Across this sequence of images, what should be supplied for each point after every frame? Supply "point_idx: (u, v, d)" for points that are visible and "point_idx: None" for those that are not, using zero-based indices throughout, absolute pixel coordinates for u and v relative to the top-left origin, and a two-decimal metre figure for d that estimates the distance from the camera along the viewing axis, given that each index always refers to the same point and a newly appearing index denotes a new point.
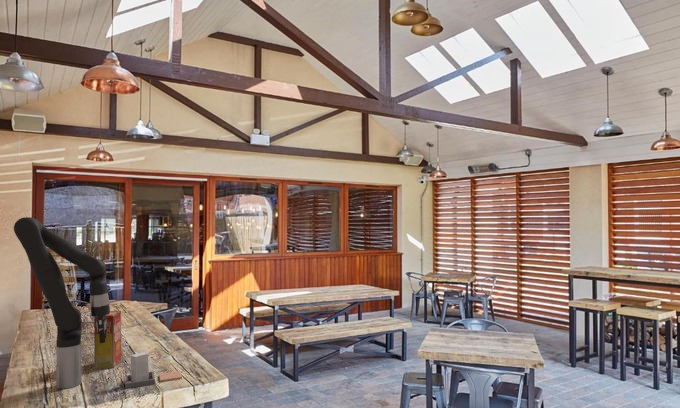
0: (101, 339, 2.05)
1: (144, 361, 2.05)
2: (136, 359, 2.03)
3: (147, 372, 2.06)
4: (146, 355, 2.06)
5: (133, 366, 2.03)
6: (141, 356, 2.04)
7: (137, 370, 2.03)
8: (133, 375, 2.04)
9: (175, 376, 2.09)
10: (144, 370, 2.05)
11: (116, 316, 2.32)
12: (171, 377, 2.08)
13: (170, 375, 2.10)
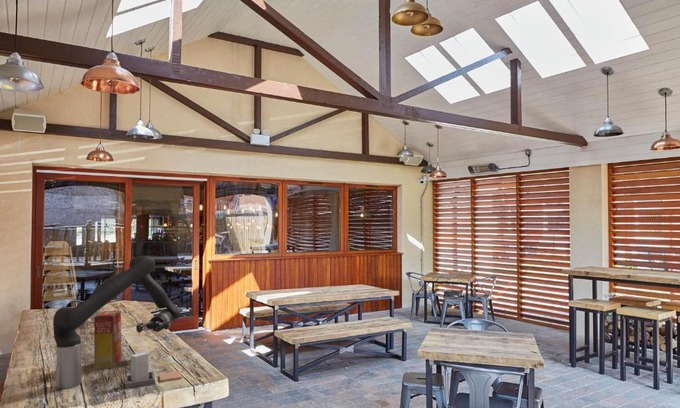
0: (161, 328, 2.19)
1: (144, 361, 2.05)
2: (136, 359, 2.03)
3: (147, 372, 2.06)
4: (146, 355, 2.06)
5: (133, 366, 2.03)
6: (141, 356, 2.04)
7: (137, 370, 2.03)
8: (133, 375, 2.04)
9: (175, 376, 2.09)
10: (144, 370, 2.05)
11: (116, 316, 2.32)
12: (171, 377, 2.08)
13: (170, 375, 2.10)
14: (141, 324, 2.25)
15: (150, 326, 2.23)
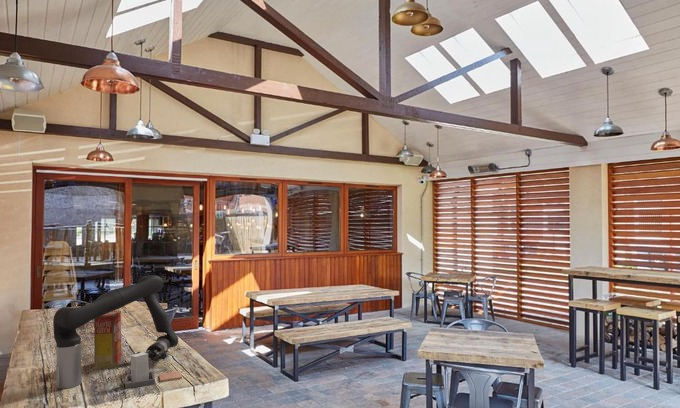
0: (158, 358, 2.15)
1: (144, 361, 2.05)
2: (136, 359, 2.03)
3: (147, 372, 2.06)
4: (146, 355, 2.06)
5: (133, 366, 2.03)
6: (141, 356, 2.04)
7: (137, 370, 2.03)
8: (133, 375, 2.03)
9: (175, 376, 2.09)
10: (144, 370, 2.05)
11: (116, 316, 2.32)
12: (171, 377, 2.08)
13: (170, 375, 2.10)
14: None
15: None
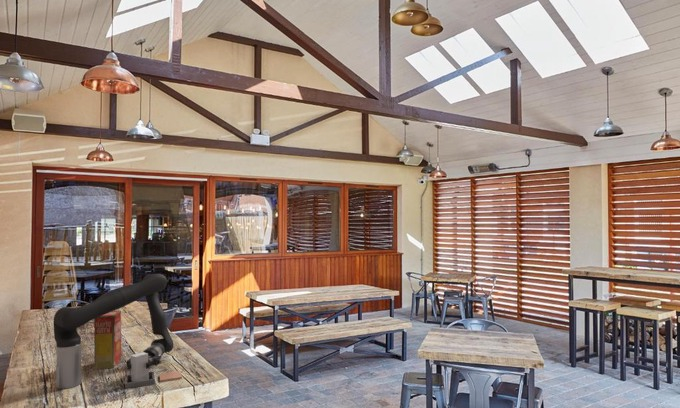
0: (150, 364, 2.05)
1: (144, 361, 2.05)
2: (136, 359, 2.03)
3: (147, 372, 2.06)
4: (146, 355, 2.06)
5: (133, 366, 2.03)
6: (141, 356, 2.04)
7: (137, 370, 2.03)
8: (133, 375, 2.03)
9: (175, 376, 2.09)
10: (144, 370, 2.05)
11: (116, 316, 2.32)
12: (171, 377, 2.08)
13: (170, 375, 2.10)
14: None
15: None
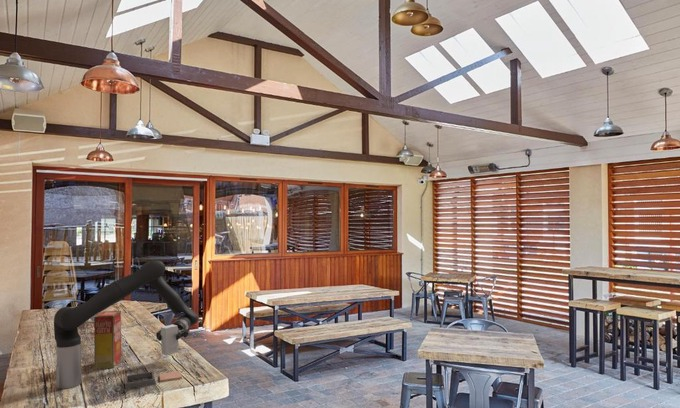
0: (180, 335, 2.11)
1: (174, 332, 2.11)
2: (166, 330, 2.08)
3: (177, 343, 2.12)
4: (176, 327, 2.11)
5: (164, 337, 2.08)
6: (171, 328, 2.10)
7: (167, 341, 2.08)
8: (163, 346, 2.09)
9: (175, 376, 2.09)
10: (174, 341, 2.11)
11: (116, 316, 2.32)
12: (171, 377, 2.08)
13: (170, 375, 2.10)
14: (160, 331, 2.16)
15: None
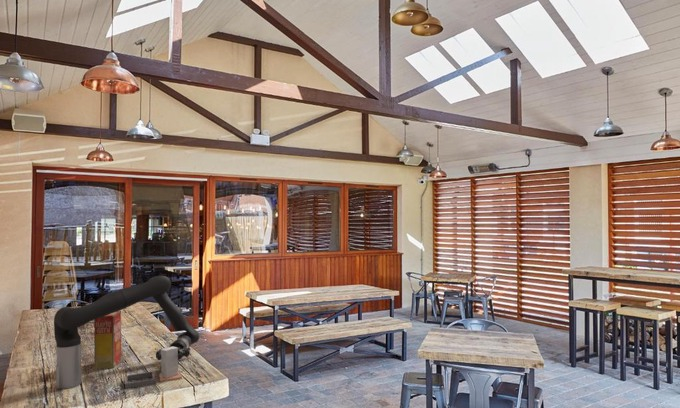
0: (181, 355, 2.11)
1: (174, 354, 2.10)
2: (166, 353, 2.08)
3: (177, 366, 2.11)
4: (176, 349, 2.11)
5: (164, 359, 2.08)
6: (171, 350, 2.09)
7: (167, 363, 2.08)
8: (163, 368, 2.09)
9: (175, 376, 2.09)
10: (174, 364, 2.10)
11: (116, 316, 2.32)
12: (171, 377, 2.08)
13: None
14: None
15: None
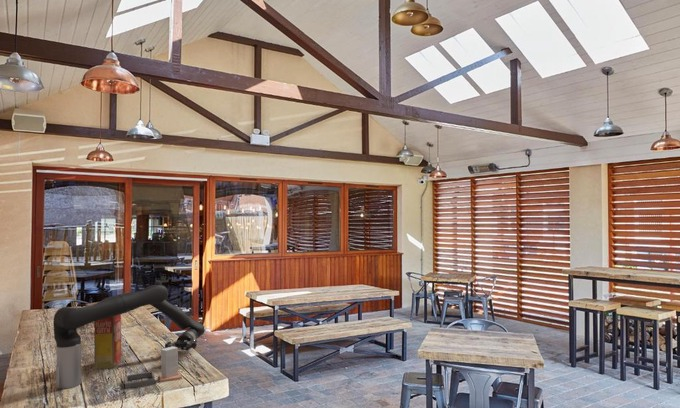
0: (189, 347, 2.23)
1: (174, 354, 2.10)
2: (166, 353, 2.08)
3: (177, 366, 2.11)
4: (176, 349, 2.11)
5: (164, 359, 2.08)
6: (171, 350, 2.09)
7: (167, 363, 2.08)
8: (163, 368, 2.09)
9: (175, 376, 2.09)
10: (174, 364, 2.10)
11: (116, 316, 2.32)
12: (171, 377, 2.08)
13: None
14: (169, 343, 2.29)
15: (178, 345, 2.27)
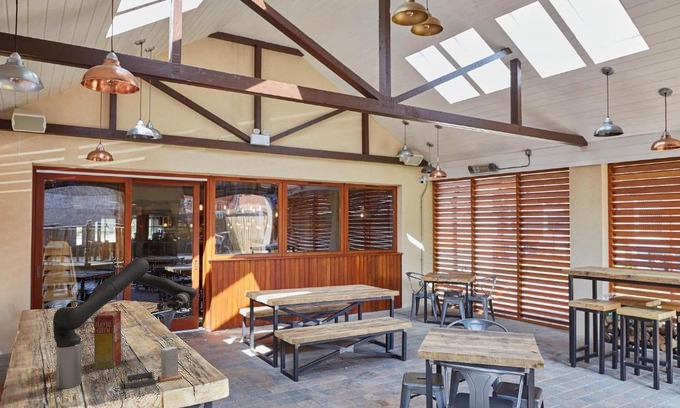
0: (181, 306, 2.27)
1: (174, 354, 2.10)
2: (166, 353, 2.08)
3: (177, 366, 2.11)
4: (176, 349, 2.11)
5: (164, 359, 2.08)
6: (171, 350, 2.09)
7: (167, 363, 2.08)
8: (163, 368, 2.09)
9: (175, 376, 2.09)
10: (174, 364, 2.10)
11: (116, 316, 2.32)
12: (171, 377, 2.08)
13: None
14: (161, 303, 2.33)
15: (170, 305, 2.31)
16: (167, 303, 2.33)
